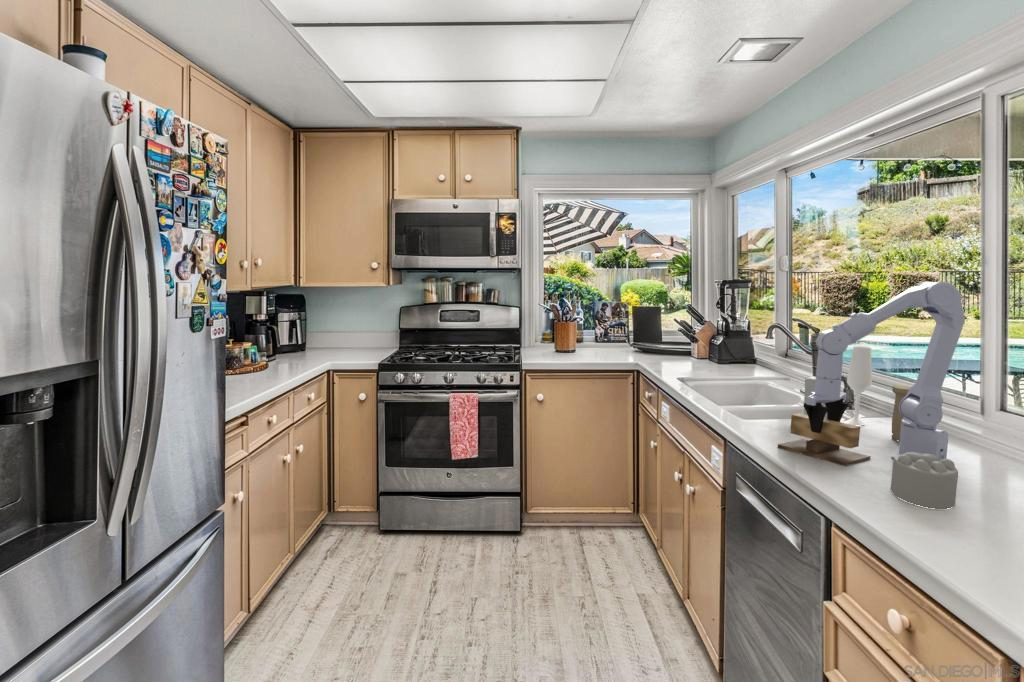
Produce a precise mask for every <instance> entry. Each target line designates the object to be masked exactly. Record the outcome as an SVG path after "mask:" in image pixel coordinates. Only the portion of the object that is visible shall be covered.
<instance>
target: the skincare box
mask: <svg viewBox="0 0 1024 682" xmlns="http://www.w3.org/2000/svg"><path fill="white" fill-rule="evenodd" d="M815 383H816V376H815V375H814V376H813V375H811V376H808V377H806V378H804V396H803V397H804V399H803V400H804V402H803V404H804V403H806V401H807V397H808V396H811V395H810V394H811V392H815ZM821 405H822V406H823V407H826V406H825V403H821ZM803 414H805V415H808V414H807V412H806V410H805V408H804V407H803ZM824 419H827V412H826V414H825V417H824Z"/></svg>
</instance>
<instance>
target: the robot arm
mask: <svg viewBox="0 0 1024 682" xmlns="http://www.w3.org/2000/svg"><path fill="white" fill-rule="evenodd" d="M962 297H963V294H962V293H961V292H960V290H959V289H958V288H957V287H956V286H955V285H954V284H953V283H950V282H948V281H938V282H936V281H934V282H933V281H929V280H928V281H922V282H920V283H918V284H917V285H916V286H911V287H909V288H907V289H906V290H904V291H903V292H901V293H899V294H898V295H896V296H895V297H893V298H891V299H889V300H888V301H886V302H884V303H883V304H882V305H879V306H878V307H876V308H874V309H873V310H872V311H870V312H868V313H867V312H862V311H861V312H860V311H859V312H858V313H856V312H853V313H851V314H849V318H847V319H846V320H844V321H842V322H840V323H839V324H836V323H835V324H832V325H831V328H832V329H825V330H822V331H821V332H819V334H818V336H817V337H816V339H815V345H816V347H817V348H818V350H817V352H818V353H817V360H816V370H815V371H816V373H815V377H816V383H815V392H811V394H810V395H811V396H808V397H807V401H806V403H804V402H803V409H804V408H805V410H806V412H807V414H808V417H809V421H810V427H811V431H812V432H816V433H821V430H822V426H823V420H824V417H825V414H826V412H827V419H828V420H832V421H837V422H841V420H842V418H843V416H844V413H845V412H846V410H847V409H848V407H849V406H850V402H847V395H848V394H847V392H843V391H841V389H842V387H841V386H842V373H843V363H844V361H843V358H844V353H845V352H846V351H847V349H848V347H849V346H850V345H853V344H855V343H856V342H858V341H860V340H862V339H863V338H866V337H867V336H869V335H871V334H873V333H874V332H875V331H876V328H877V325H878V324H880V323H883V322H884V321H886V320H888V319H890V318H892V317H895V316H896V315H898V314H900V313H902V312H905V311H906V310H908V309H917V308H918V309H919V308H920V309H923V310H925V312H926V311H927V312H928V314H929V315H930V316H931V317H932V320H934V321H935V325H934V328H933V332H932V335H931V337H930V340H929V343H928V346H927V349H926V351H925V355H924V358H923V360H922V364H921V367H920V370H919V373H918V375H917V378H916V381H915V383H914V384H913V385H912V386H910V387H911V388H910V389H909V390H908V393H907V395H906V396H905V397H904V398H903V399H902V400H901V402H900V404H899V411H900V413H901V415H902V416H903V419H902V422H901V433H900V441H899V444H898V453H897V454H893V455H891V456H890V458H891V459H893V458H894V456H895V455H903V454H904V453H907V452H915V453H921V454H932V455H935V456H936V457H937V458H939V459H940V460H943V459H947V455H948V445H949V434H948V432H947V431H946V430H943V429H939V428H938V425H939V424H940V422H941V421H942V419H943V414H944V413H943V409H942V407H943V403H944V398H943V394H942V391H941V390H942V388H943V385H944V381H945V379H946V376H947V373H948V370H949V367H950V365H951V363H952V359H953V356H954V353H955V351H956V348H957V345H958V342H959V339H960V336H961V334H962V331H963V328H964V325H965V321H966V317H965V313H964V308H963V304H962ZM821 403H825V406H826V407H823V406H822V405H821Z"/></svg>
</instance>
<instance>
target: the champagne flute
mask: <svg viewBox="0 0 1024 682" xmlns="http://www.w3.org/2000/svg"><path fill="white" fill-rule="evenodd" d="M850 357H851V358H850V362H849V369H848V373H847V378H846V383H847V385H848V386H849V388H850V389H851V390H852V391H853V392H855V400H854V401H855V402H854V404H855V405H854V414H853V415H854V416H853V417H852V418H850V419H847V420H845V421H843V423H846V424H851V425H865V424H867V423H866V422H864V421H863V420H862V419H860V418H859V416H860V415H859V414H860V403H861V402H860V401H861V394H862V393H863V392H865V391H867V390H868V389H869V388H871V386H872V385H873V384H872V383H873V379H872V378H873V375H872V373H873V371H872V368H873V367H872V347H871V346H866V345H853V346H852V353H851V356H850Z"/></svg>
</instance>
